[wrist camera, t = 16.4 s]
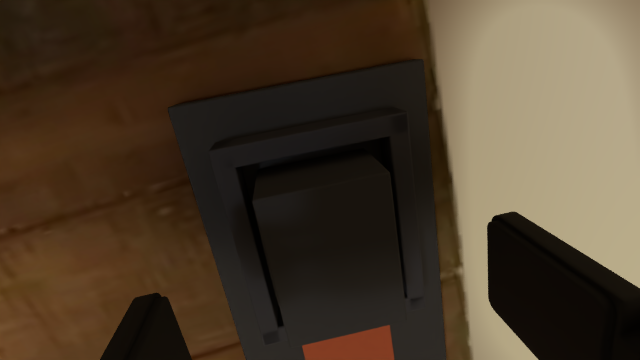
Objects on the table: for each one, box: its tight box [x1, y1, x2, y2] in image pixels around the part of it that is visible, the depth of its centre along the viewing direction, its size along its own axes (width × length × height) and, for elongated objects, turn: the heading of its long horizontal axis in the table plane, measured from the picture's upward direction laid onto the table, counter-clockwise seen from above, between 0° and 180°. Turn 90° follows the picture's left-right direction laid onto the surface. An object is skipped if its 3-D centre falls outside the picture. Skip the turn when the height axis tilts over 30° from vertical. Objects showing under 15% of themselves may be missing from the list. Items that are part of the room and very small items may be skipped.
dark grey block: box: [252, 148, 407, 348], centre depth 14 cm, size 6×4×4 cm
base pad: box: [168, 59, 446, 360], centre depth 16 cm, size 18×10×2 cm, turn 10°
